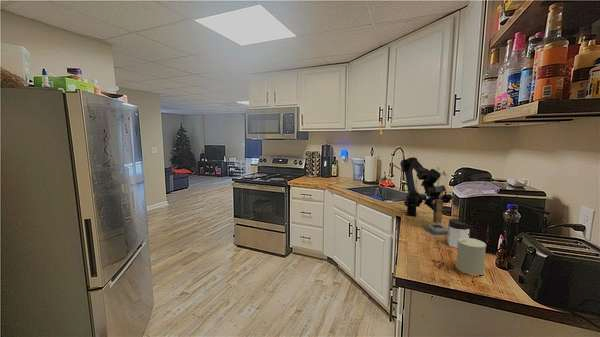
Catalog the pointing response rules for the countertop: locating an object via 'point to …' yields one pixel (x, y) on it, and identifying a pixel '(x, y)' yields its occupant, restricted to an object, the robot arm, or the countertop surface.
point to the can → (470, 256)
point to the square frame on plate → (436, 229)
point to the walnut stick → (438, 211)
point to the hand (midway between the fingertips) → (439, 211)
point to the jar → (456, 232)
